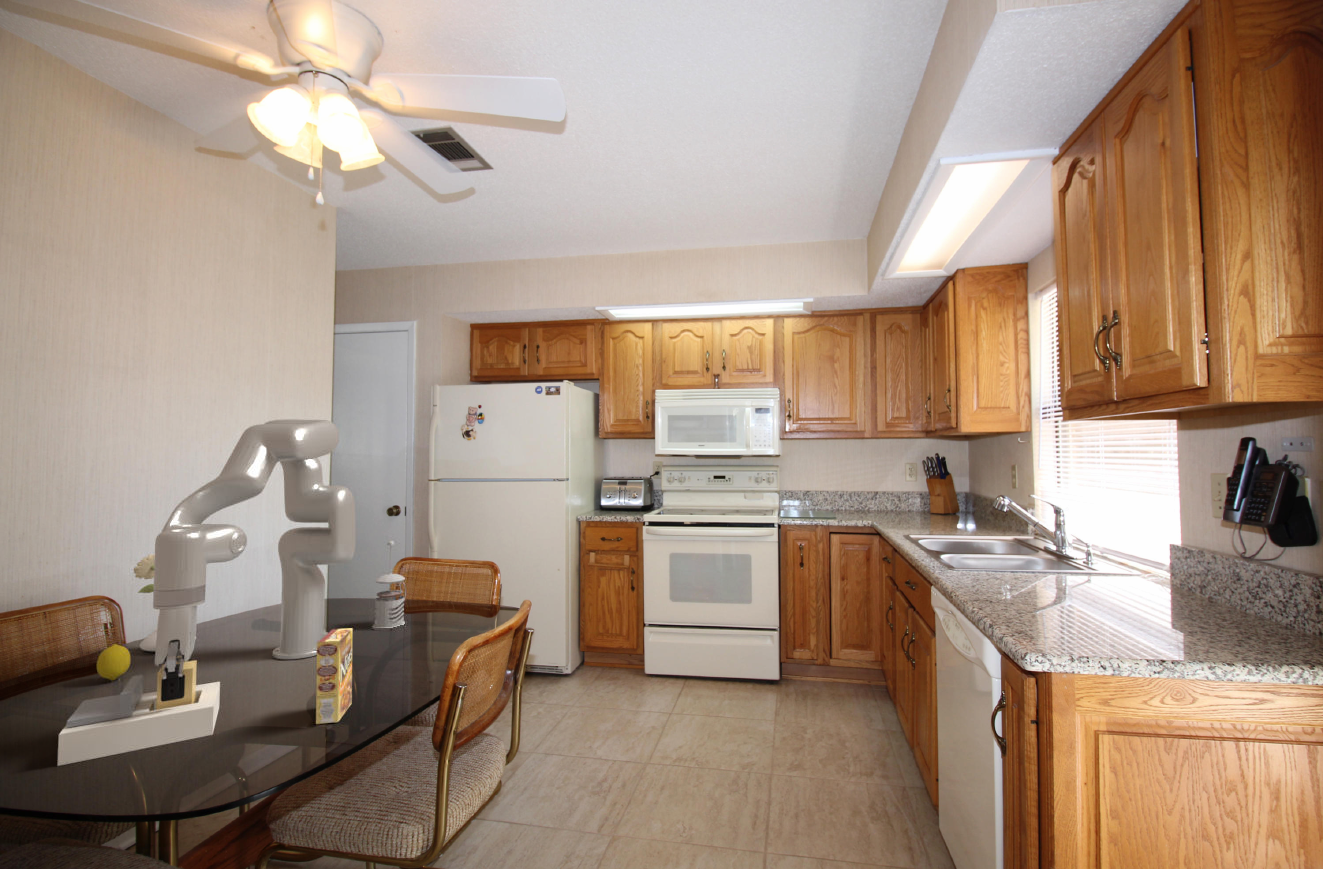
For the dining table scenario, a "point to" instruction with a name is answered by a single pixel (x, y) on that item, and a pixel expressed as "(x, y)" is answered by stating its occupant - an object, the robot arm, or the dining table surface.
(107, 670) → the lemon
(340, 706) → the candy box
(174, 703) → the plug
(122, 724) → the socket
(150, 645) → the flower in vase
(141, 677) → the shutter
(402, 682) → the dining table surface
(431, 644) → the dining table surface
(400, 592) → the french press
